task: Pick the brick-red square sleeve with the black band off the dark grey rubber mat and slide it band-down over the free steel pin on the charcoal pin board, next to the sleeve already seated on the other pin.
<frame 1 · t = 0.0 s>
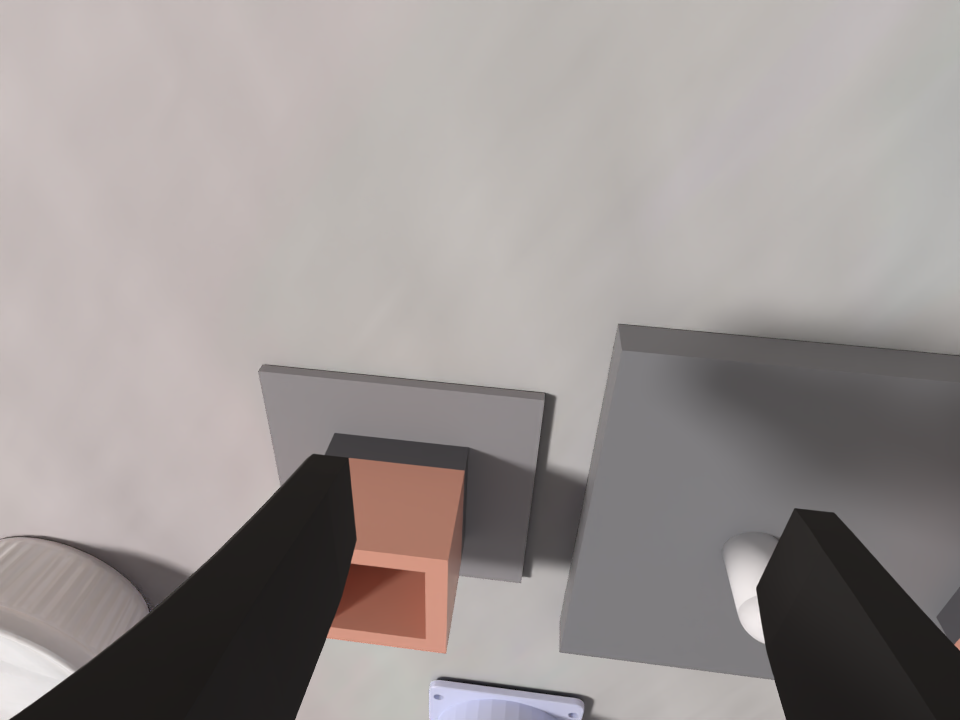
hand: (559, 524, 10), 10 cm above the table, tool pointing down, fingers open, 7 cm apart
sleeve: (403, 488, 24), resting on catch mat
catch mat: (405, 480, 25), on the table
pin board: (877, 533, 24), on the table
ramekin: (69, 588, 32), on the table
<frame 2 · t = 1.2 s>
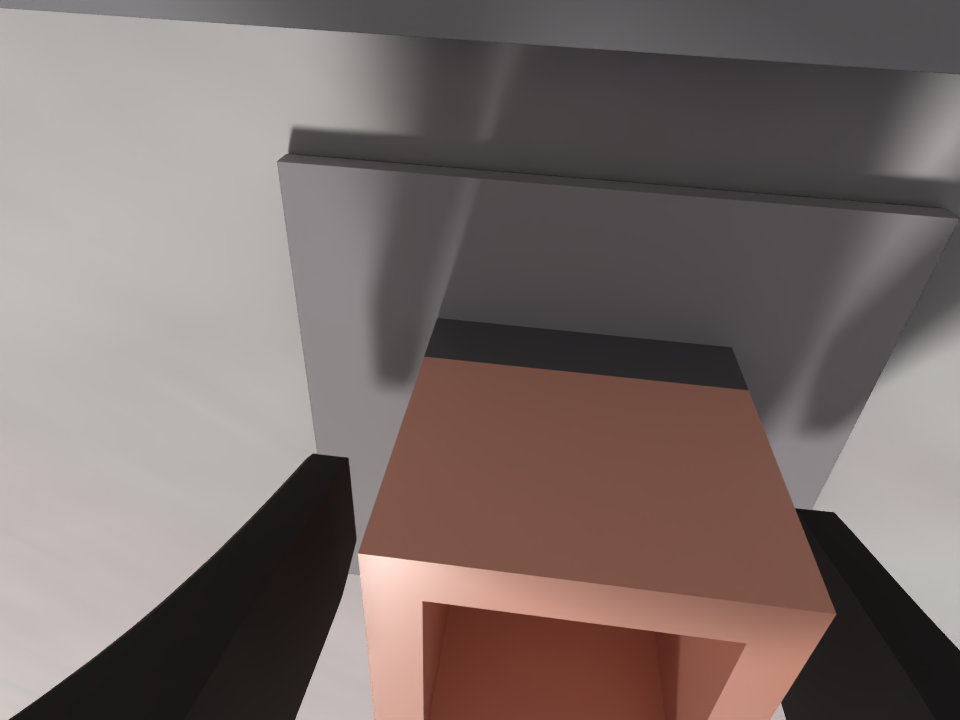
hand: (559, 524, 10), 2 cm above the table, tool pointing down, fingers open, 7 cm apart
sleeve: (564, 441, 12), resting on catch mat
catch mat: (564, 428, 12), on the table
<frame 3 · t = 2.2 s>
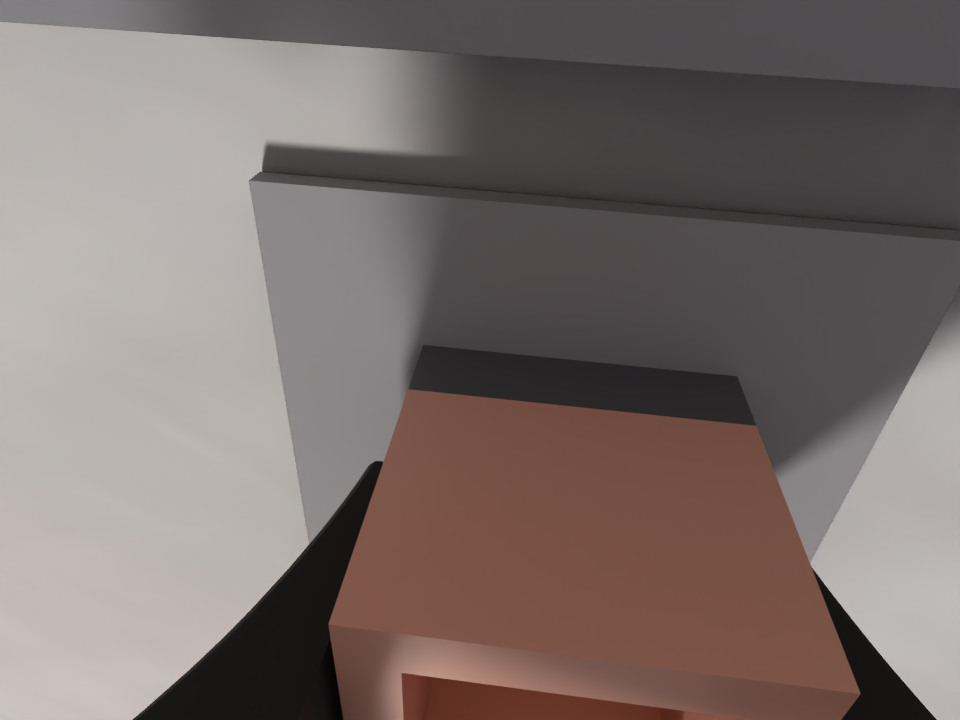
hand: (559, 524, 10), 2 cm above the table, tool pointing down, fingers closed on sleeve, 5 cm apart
sleeve: (559, 472, 11), resting on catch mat, touching gripper
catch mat: (559, 457, 12), on the table
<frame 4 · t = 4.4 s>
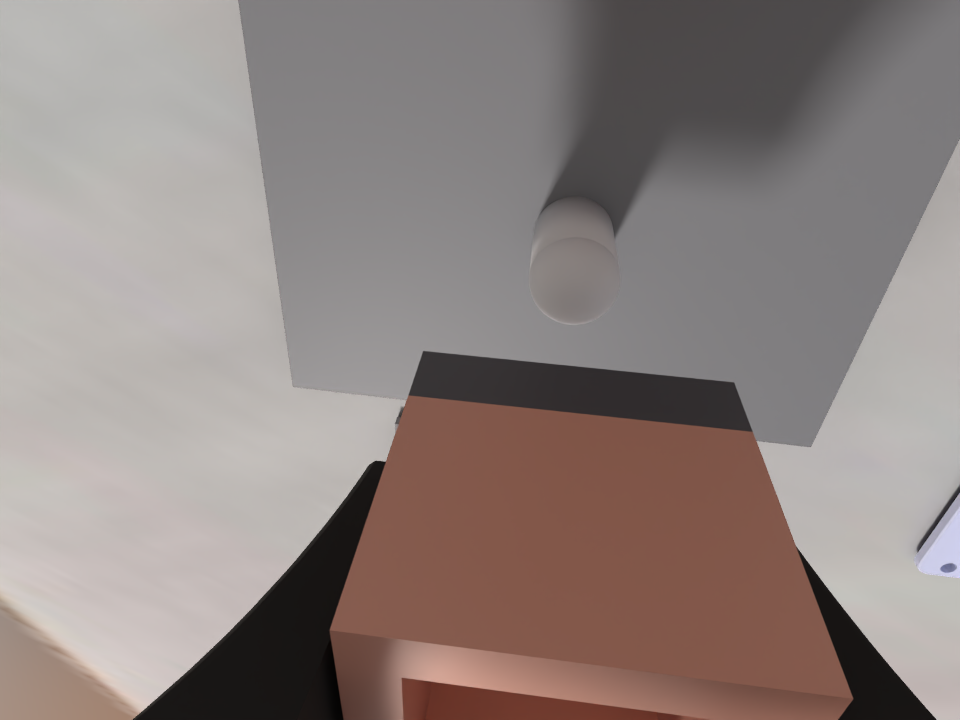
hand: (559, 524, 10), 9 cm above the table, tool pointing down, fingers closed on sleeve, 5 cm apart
sleeve: (557, 477, 12), point 8 cm above the table, touching gripper
pin board: (603, 4, 14), on the table
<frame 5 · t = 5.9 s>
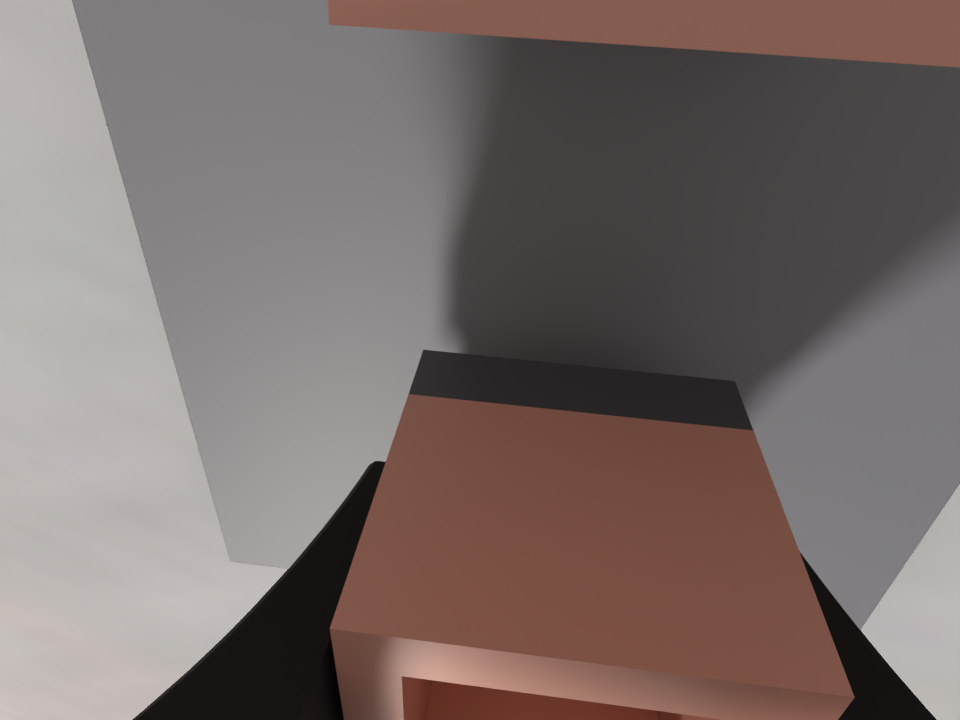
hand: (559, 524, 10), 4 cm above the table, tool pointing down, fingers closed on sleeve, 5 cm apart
sleeve: (558, 476, 12), point 3 cm above the table, touching gripper
pin board: (593, 148, 11), on the table
when the fingers open (4 cm above the table, at t = 6.7 s): sleeve drops 1 cm, resting on pin board.
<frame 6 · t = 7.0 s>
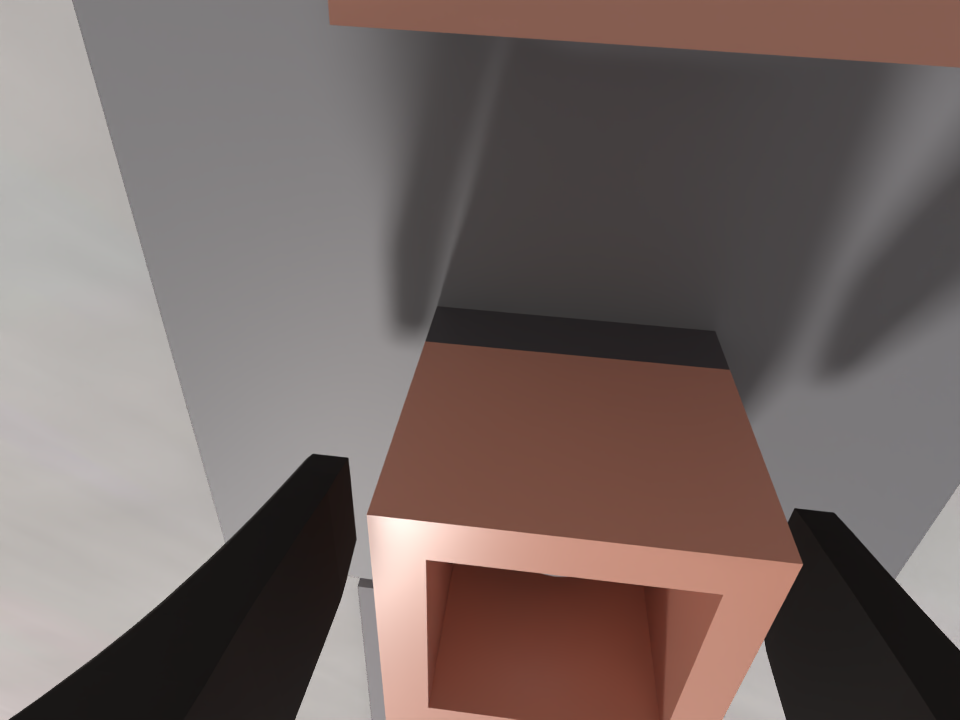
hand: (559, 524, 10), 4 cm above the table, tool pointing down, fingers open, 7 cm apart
sleeve: (558, 424, 13), point 1 cm above the table, touching pin board
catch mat: (514, 685, 21), on the table
pin board: (594, 148, 11), on the table
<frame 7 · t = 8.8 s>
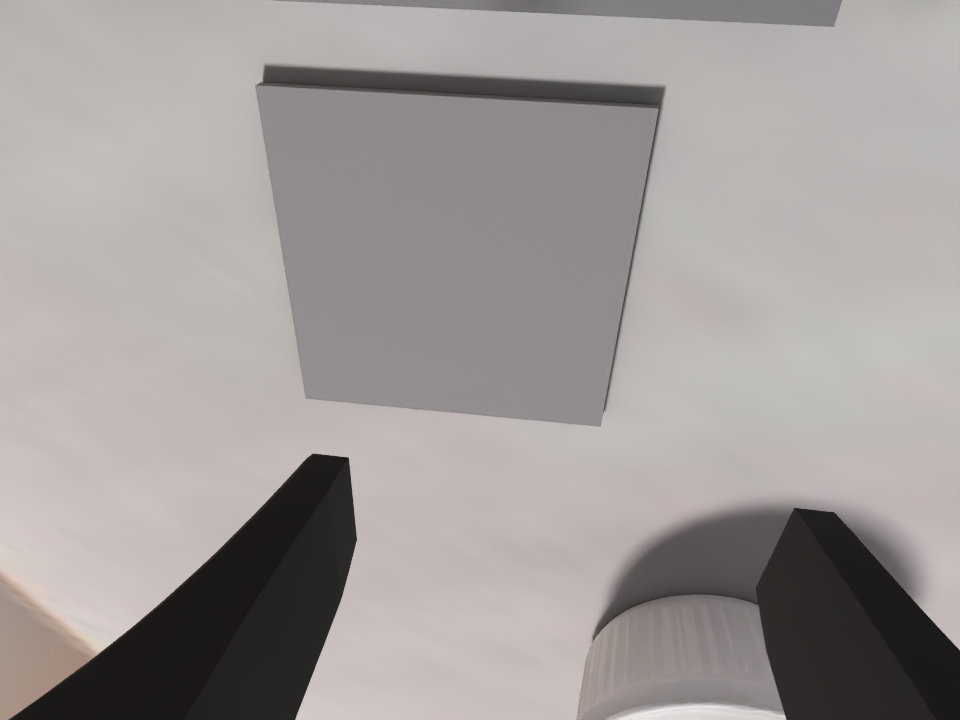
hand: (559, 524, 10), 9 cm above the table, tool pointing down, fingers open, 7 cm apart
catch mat: (453, 272, 19), on the table
ramekin: (693, 648, 28), on the table
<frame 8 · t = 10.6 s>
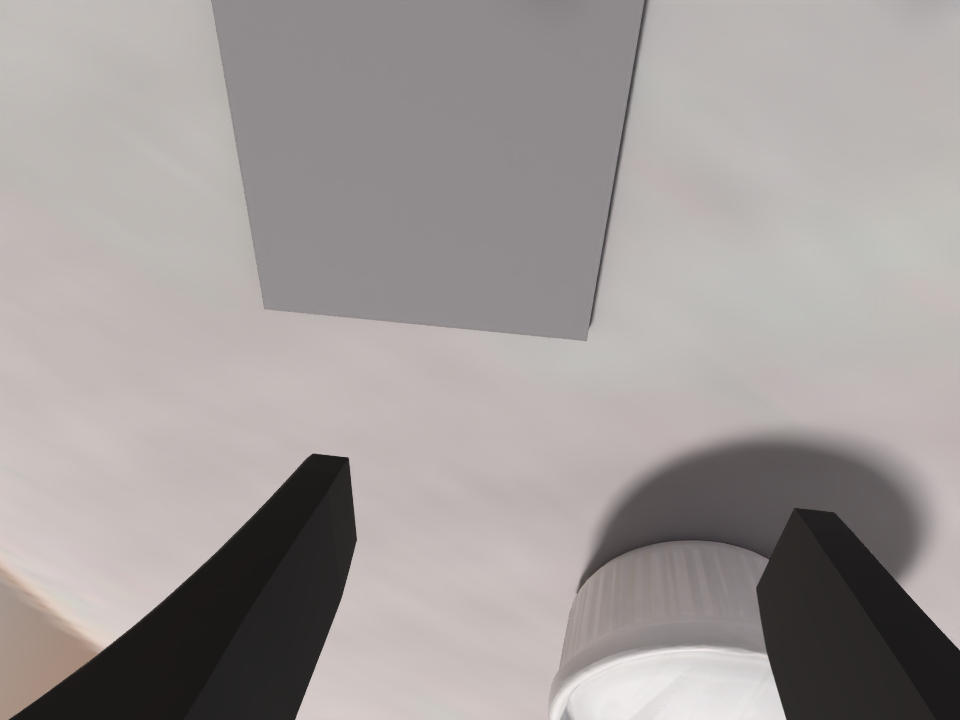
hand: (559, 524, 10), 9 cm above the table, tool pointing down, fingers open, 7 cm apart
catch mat: (424, 157, 17), on the table
ramekin: (684, 602, 27), on the table
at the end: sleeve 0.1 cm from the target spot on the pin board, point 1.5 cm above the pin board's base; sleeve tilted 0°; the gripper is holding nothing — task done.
